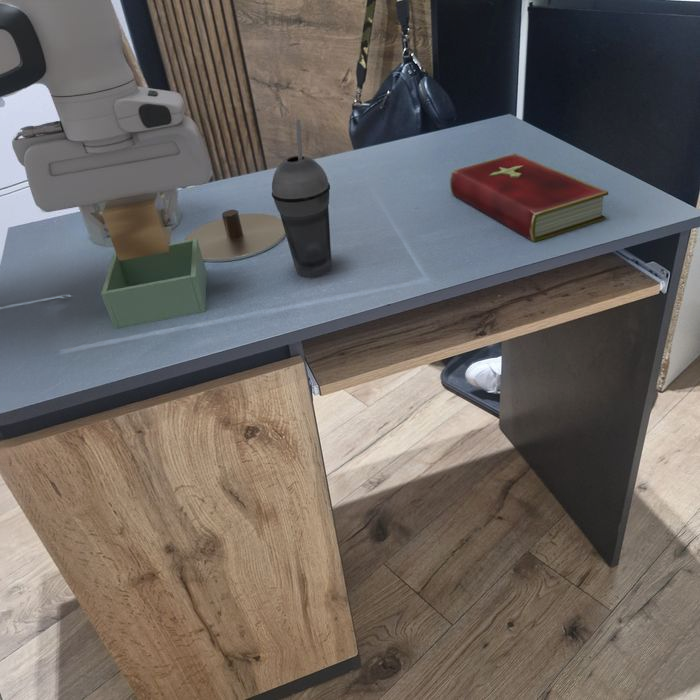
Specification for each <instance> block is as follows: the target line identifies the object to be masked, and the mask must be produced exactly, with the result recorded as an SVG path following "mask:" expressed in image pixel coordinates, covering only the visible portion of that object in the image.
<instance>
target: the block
mask: <svg viewBox="0 0 700 700" xmlns="http://www.w3.org/2000/svg"><path fill="white" fill-rule="evenodd" d="M162 209H164V205H163V202H162V199H161V195H160V192H157V193H152V194H146V195H141V196H135V197H130V198H124V199H119V200H113V201H108V202H107V203H106V205H105V208H104V210H103V213H102V216H103V218H104V221H105V224H106V227H107V229H108V232H109V235H110V238H111V240H112V243H113V246H114V247H113V249H114V251H115V254H117V257H118V259H119V261H121V260H127V259H132V258H137V257H142V256H148V255H153V254H158V253H164V252H169V248H170V244H171V240H172V230H171V228H170V226H169V227H165V226H164V223H163V222H164V221H163V220H162V217H161V211H162Z"/></svg>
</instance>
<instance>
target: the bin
mask: <svg viewBox="0 0 700 700" xmlns="http://www.w3.org/2000/svg"><path fill="white" fill-rule="evenodd" d="M100 293H101V294H100V295H101V298H102V301H103V302H104V305H105V308H106V310H107V313H108V316H109V318H110V320H111V321H110V322H111V323H112V326H113V327H114V328H113V329H115V330H117V329H122V328H127V327H132V326H138V325H142V324H147V323H152V322H158V321H163V320H168V319H174V318H179V317H184V316H188V315H194V314H200V313H204V312H205V313H206V312H207V269H206V265H205V261H203V258H202V254H201V250H200V247H199V243H198V240H197V239H193V240H187V241H185V240H183V241H176V242H172V243H171V242H170V248H169V252H164V253H158V254H153V255H148V256H142V257H137V258H132V259H127V260H121V261H119V259H118V257H117V254H116V253H113V254H112V256H111V260H110V263H109V266H108V269H107V273H106V276H105V280H104V283H103V285H102V289H101V292H100Z"/></svg>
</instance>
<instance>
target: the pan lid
mask: <svg viewBox="0 0 700 700" xmlns="http://www.w3.org/2000/svg"><path fill="white" fill-rule="evenodd" d="M285 237H286V234H285V230H284V227H283V223H282V220H281V217H278V216H276V215H273V214H268V213H242V214H239V211H238V210H237V209H228V210H225V211H223V212H222V213H221V218H218V219H214V220H212V221H210V222H207V223H205V224H202V225H201V226H198V227H197V228H195V229H194V230H193V231H191V232H190V233H189V234H188V235H187V236H186V237H185V238H184V241H187V240H193V239H197V240H198V243H199V247H200V250H201V254H202V258H203V261H204V262H209V263H222V262H232V261H238V260H243V259H248V258H250V257H254V256H257V255H260V254H262V253H264V252H266V251H269V250H270V249H272V248H274V247H275V246H277V245H278V244H279V243H281V242H282V241H283V240H284V238H285Z"/></svg>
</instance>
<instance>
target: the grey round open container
mask: <svg viewBox="0 0 700 700" xmlns="http://www.w3.org/2000/svg"><path fill="white" fill-rule="evenodd" d="M160 195H161V199H162V202H163V205H164V209H166V208H168V205H169V202H170V199H166V198H165V195H164V192H160ZM106 203H107V202H102V203H97V204H98V206H97V208H96V210H97V211H98V212H99V213H100V214H101V215H102V213H103V210H104V208H105V205H106ZM78 210H79V213H80V214H81V217H82V220H83V223H84V226H85V228H86V231H87V234H88V236H89V239H90V240H91V241H92V243H94V245H98V246H101V247H105V248H114V246H113V243H112V240H111V238H110V237H109V238H105V239H104V238H103V237H102V234H101V232H100V229H99V226H96V225H95V224H94V223H93V222H92V221H90V220H89V219H88V218H87V217H86V216H85V215H84V214H83V212H82V209H81V206H80V207H78ZM174 212H175V215H176V218H177V225H175V226H170V228H171V231H173V230H174V229H175V228H176V227H177V226H178V225H179V224H181V222H182V212H181V209H180V205H179V201H178V200H177V202H176V205H175V209H174Z"/></svg>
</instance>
